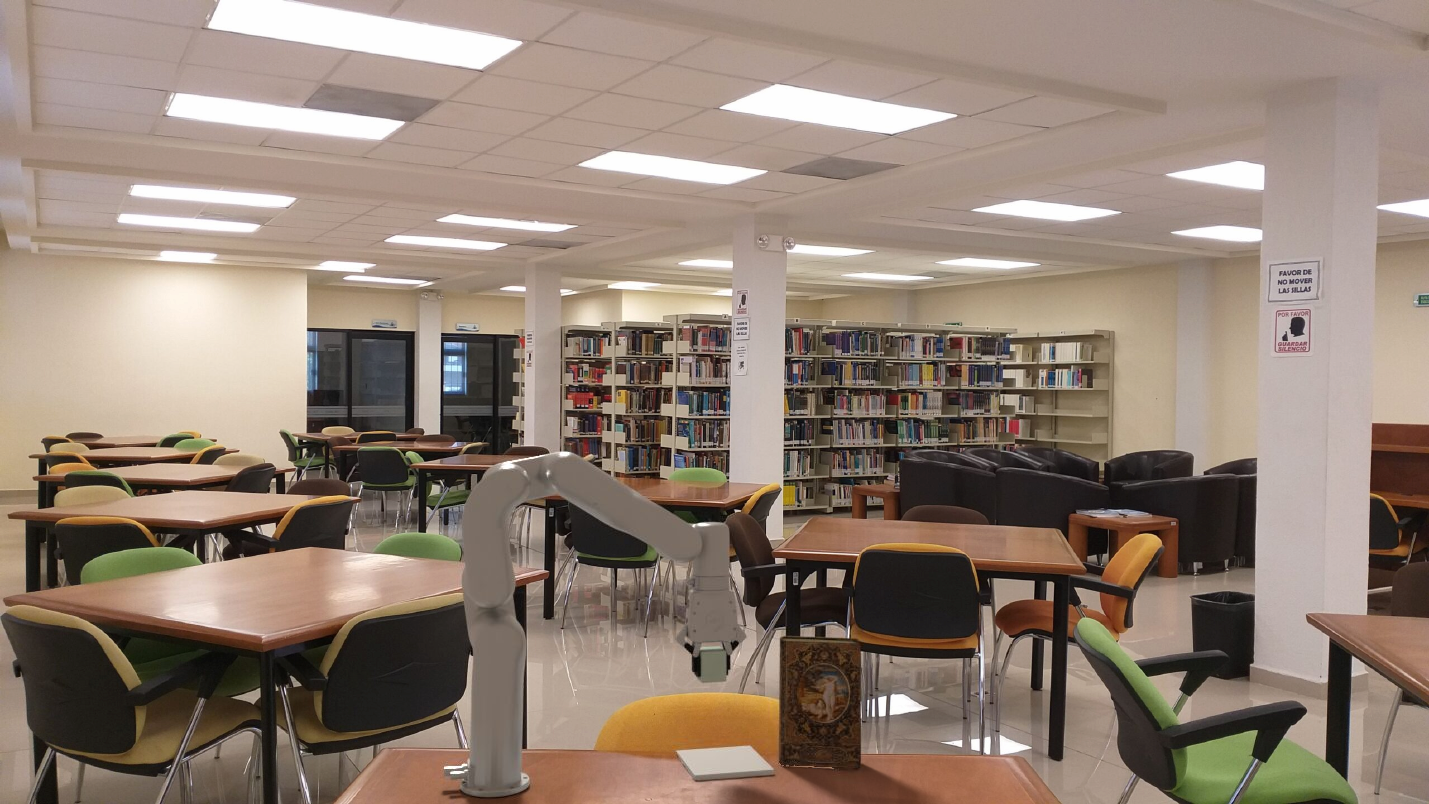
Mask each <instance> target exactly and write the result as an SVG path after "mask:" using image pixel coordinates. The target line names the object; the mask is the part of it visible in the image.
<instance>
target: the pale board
mask: <svg viewBox="0 0 1429 804" xmlns="http://www.w3.org/2000/svg"><path fill="white" fill-rule="evenodd" d="M676 752H677V754H678V756H679V758H680V759H681V761H682V762H683V764H684V765H685V767H686V768H685V767H684V768H685V770H686V769H687V770H688V771H687V770H686V771H687V773H688V772H689V773H690V774H689V773H688V774H689V775H690V777H691V776H692V777H691V778H692V779H693V780H697V781H707V780H709V781H710V780H721V779H734V778H735V779H736V778H746V777H747V778H748V777H749V778H750V777H757V776H758V777H760V776H774V775H775V769H774V768H773V767H772V766H771V765H770V764H769V763H768V762H767V761H766V760H765V758H763V757H762V756H761V755H760V754H759V753H758V752H757V751H756V750H755V749H754V748H753V747H752V746H751V745H740V746H739V745H738V746H727V747H726V746H725V747H710V748H708V747H707V748H696V749H681V750H680V749H679V750H675V753H676ZM683 764H682V765H683Z"/></svg>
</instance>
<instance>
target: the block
mask: <svg viewBox="0 0 1429 804" xmlns="http://www.w3.org/2000/svg"><path fill="white" fill-rule="evenodd" d="M699 656H700V658H701V676H700V677H697V676H696V675H695V678H696V679H697V680H698V681H699V682H700V683H701V684H706V683H708V684H709V683H722V682H723V683H724V682H727V675H726V650H724V649H723V647H722V646H720V645H719V646H718V645H717V646H714V645H713V646H701V648H700V651H699Z"/></svg>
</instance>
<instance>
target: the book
mask: <svg viewBox="0 0 1429 804" xmlns="http://www.w3.org/2000/svg"><path fill="white" fill-rule="evenodd" d="M861 648H862V647H861V645H860V640H859V638H857V637H832V636H830V637H828V636H800V635H799V636H798V635H794V636H793V635H785V636H780V637H779V673H778V674H779V676H778V677H779V681H778V682H779V685H778V687H779V688H778V689H779V690H778V692H779V693H778V697H779V698H778V703H779V704H778V705H779V706H778V707H779V708H778V764H779V763H780V764H781V765H784V766H786V765H789V766H794V765H795V766H814V767H832V768H834V769H833V770H839V769H847V771H849V770H850V771H851V770H854V771H855V770H859V769H860V767H861V762H862V657H861V656H862V649H861Z"/></svg>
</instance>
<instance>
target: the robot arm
mask: <svg viewBox="0 0 1429 804" xmlns="http://www.w3.org/2000/svg"><path fill="white" fill-rule="evenodd" d="M555 495H558V496H559V497H561V498H563V499H564V500H566V501H567V502H569V503H571V504H573V505H574V506H576V507H578V508H580V509H581V510H583V511H584V512H586V513H588V514H589V515H591V516H593V517H594V518H595V519H597V520H599V521H600V522H602V523H603V524H605V525H608V526H609V527H611V528H613V529H615V530H617V531H620V532H623V533H626V534H628V535H631V536H632V537H634V538H636V539H638V540H640V541H642V542H644V543H645V544H647V545H648V546H650V547H652V548H653V549H654V551H655V552H656V553H657V554H658V555H659V556H661V557H662V558H663V559H666V560H669V561H673V562H676V563H678V564H687V563H692V574H691V577H690V578H686V579H685V580H684V581H685V586H689V587H691V589H690V590H689V591H688V597H687V603H686V610H685V611H686V612H685V622H684V623H685V624H684V626H682V628H681V630H680V631H679V632H678V633H677V635H676V636H675V639H674V640H675V642H676V643H678V644H679V645H680V646H681V647H682V648H684V649H685V650H686V651H687V652H688V653H689V654H690V655H691V673H693V674H694V675H695V677H696V676H697V677H700V676H701V658H700V656H699V651H700V648H701V647H702V645H703V644H704V643H708V644H709V643H721V648H723V649H724V650H726V676H729V671H730V670H731V667H732V666H731V658H732V657H731V656H732V655H733V652H734V651H735V650H736V649H737V648H738V647H739V645H740V644H742V643H743V642H744V640H746V639H747V634H746V632H744V631H743V629H742V628H741V626H739V622H738V612H737V604H736V603H737V602H736V596H735V591H734V590H733V589H730V527H729V526H728V524H726V523H724V522H716V521H709V522H708V521H704V522H703V521H702V522H699V523H689V522H687V521H685V520H683V519H682V518H680V517H679V516H677V515H675V514H674V513H672V512H671V511H670V510H667V509H666V508H664V507H663V506H661V505H659V504H657V503H655V502H654V501H652V500H650V499H649V498H647V497H645V496H644V495H643V494H641V493H640V492H638V491H636V490H635V489H634V488H631V487H630V486H628V485H626V484H625V483H623V482H621V481H620V480H618V479H617V478H616V477H613V476H612V475H610V474H609V473H608V472H606V471H604V470H602V469H601V468H599V467H597V466H596V465H595V464H593V463H591V462H589V461H588V460H587V459H585V458H584V457H581V456H580V455H578V454H576V453H574V452H571V451H555V452H551V453H550V452H549V453H547V454H542V455H539V456H538V455H537V456H533V457H528V458H527V457H526V458H521V459H516V460H512V461H510V460H509V461H504V462H500V463H496V464H494V465H491V466H490V467H489V468H488V469H486V471H484V473H483V476H482V477H481V479H480V481H478V483H477V484H476V485H475V486H474V487H473V489H472V490H471V492H470V493H469V495H468V496H467V499H466V501H465V504H464V507H463V510H462V515H461V533H462V534H461V535H462V545H463V546H462V547H463V556H464V563H465V564H464V565H465V566H464V568H463V570H462V573H461V590H462V599H463V604H464V612H465V619H466V620H465V621H466V627H467V632H468V639H469V642H470V645H471V647H472V673H471V689H470V690H471V691H470V729H469V730H470V732H469V733H470V734H469V736H470V737H469V758H467V763H462V764H461V765H459V766H454V765H449V766H448V765H447V766H444V768H443V769H444V770H443V777H444V778H450V781H455V780H457V781H458V780H460V784H459V786H460V787H459V788H460V790H461V792H463V793H464V794H465V795H469V796H473V797H479V798H498V797H499V798H500V797H507V796H510V795H514V794H515V795H516V794H519V793H521V792H523V791H524V790H526V789H527V788H528V787H529V786H530V781H531V780H530V779H531V778H530V776H529V775H528V774H527V773H525V772H522V765H523V764H522V763H523V761H522V759H523V725H524V724H523V720H524V719H523V717H524V683H525V681H524V678H525V668H526V658H527V657H526V656H527V639H526V633H525V630H524V628H523V627H522V625H521V623H520V622H519V621H518V620H517V615H516V609H515V601H514V594H515V591H516V590H515V589H516V584H517V582H516V574H515V571H514V566H513V565H514V564H513V559H512V558H513V557H512V552H511V547H510V546H511V544H510V533H509V532H510V531H509V521H510V517H511V514H512V513H513V511H514V510H515V509H516V508H517V507H518V506H520V505H521V504H523V502H529V501H533V500H538V499H543V498H546V497H550V496H555ZM685 638H688V639H689V640H690V641H691V644H690V642H688V641H687V640H685Z"/></svg>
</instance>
